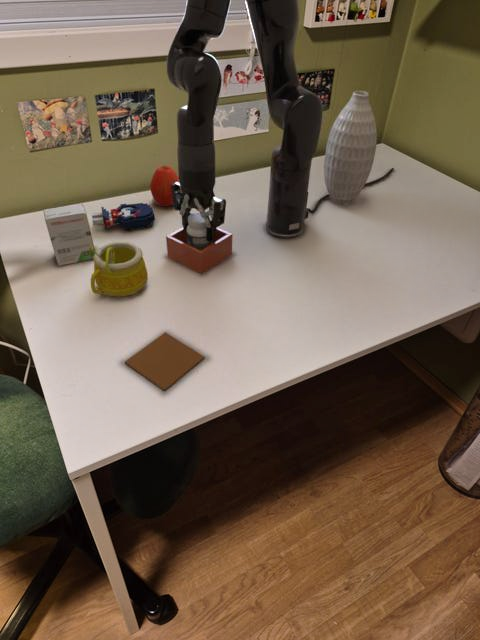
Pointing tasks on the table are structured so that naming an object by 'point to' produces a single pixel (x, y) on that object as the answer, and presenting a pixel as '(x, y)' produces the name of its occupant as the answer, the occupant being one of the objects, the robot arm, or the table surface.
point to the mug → (118, 269)
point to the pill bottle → (197, 232)
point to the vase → (350, 149)
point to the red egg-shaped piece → (163, 185)
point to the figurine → (126, 216)
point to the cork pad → (164, 361)
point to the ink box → (69, 234)
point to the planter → (195, 257)
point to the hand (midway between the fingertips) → (199, 234)
